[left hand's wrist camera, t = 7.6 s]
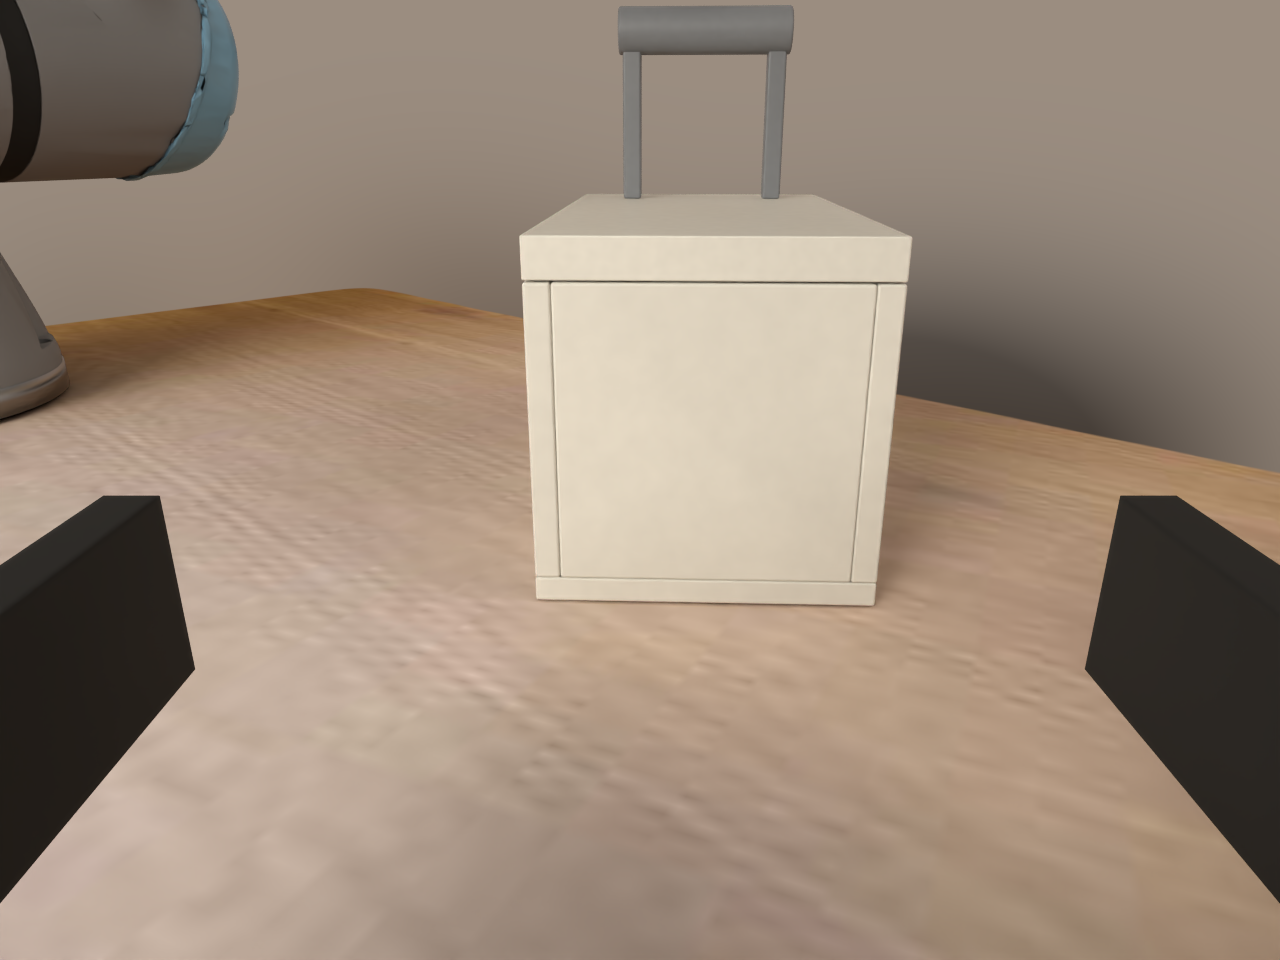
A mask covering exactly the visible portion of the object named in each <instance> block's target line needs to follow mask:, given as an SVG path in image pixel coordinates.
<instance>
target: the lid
mask: <svg viewBox="0 0 1280 960" xmlns="http://www.w3.org/2000/svg"><path fill="white" fill-rule="evenodd" d="M793 29H794V10H793V6H791V5H770V6H621V7H619V10H618V46H619V53H620V55H623V148H624V150H623V151H624V194H586V195H585V196H583V197H581V198H580V199H578V200H576V201H575V202H573V203H572V204H570V205H568V206H567V207H565V208H564V209H562V210H560V211H559V212H557V213H556V214H554V215H552V216H551V217H549V218H548V219H546V220H544V221H543V222H541V223H540V224H538V225H536V226H535V227H533V228H531V229H530V230H528V231H527V232H525V233H523V234H522V235H520V259H521V279H522V280H544V281H729V282H907V281H908V277H909V267H910V257H911V248H912V237H911V236H908V235H906V234H904V233H902V232H899V231H897V230H895V229H892V228H890V227H888V226H885V225H883V224H881V223H878V222H876V221H874V220H871V219H869V218H867V217H864V216H862V215H860V214H857V213H855V212H853V211H851V210H848V209H846V208H844V207H841V206H839V205H837V204H834V203H832V202H830V201H827V200H825V199H823V198H820V197H818V196H816V195H797V194H796V195H795V194H793V195H792V194H787V195H786V194H785V195H783V194H780V175H781V156H782V137H783V117H784V98H785V79H786V59H787V54H790V52H791V48H792V41H793ZM743 54H744V55H745V54H767V71H766V93H765V116H764V139H763V160H762V183H761V194H641V55H743Z"/></svg>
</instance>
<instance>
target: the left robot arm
mask: <svg viewBox="0 0 1280 960" xmlns="http://www.w3.org/2000/svg"><path fill="white" fill-rule="evenodd" d="M194 670H195V666H194V661H193V656H192V652H191V647H190V642H189V637H188V632H187V627H186V622H185V617H184V612H183V608H182V603H181V598H180V593H179V588H178V583H177V578H176V573H175V568H174V564H173V559H172V554H171V549H170V544H169V539H168V534H167V529H166V524H165V520H164V515H163V510H162V505H161V500H160V496H102V497H101V498H99V499H98V500H96V501H95V502H93V503H92V504H91V505H89V506H88V507H86V508H85V509H83V510H82V511H80V512H79V513H77V514H76V515H74V516H73V517H71V518H70V519H68V520H67V521H65V522H64V523H62V524H61V525H59V526H58V527H56V528H55V529H53V530H52V531H50V532H49V533H47V534H46V535H44V536H43V537H41V538H40V539H38V540H37V541H36V542H34V543H33V544H31V545H30V546H28V547H27V548H25V549H24V550H22V551H21V552H19V553H18V554H16V555H15V556H13V557H12V558H10V559H9V560H7V561H6V562H4V563H3V564H1V565H0V903H1V902H2V900H3V899H4V898H5V897H6V896H7V894H8V893H9V892H10V891H11V890H12V888H13V887H14V886H15V885H16V884H17V882H18V881H19V880H20V879H21V878H22V876H23V875H24V874H25V873H26V872H27V870H28V869H29V868H30V867H31V866H32V864H33V863H34V862H35V861H36V860H37V858H38V857H39V856H40V855H41V854H42V852H43V851H44V850H45V849H46V848H47V846H48V845H49V844H50V843H51V842H52V840H53V839H54V838H55V837H56V836H57V834H58V833H59V832H60V831H61V830H62V828H63V827H64V826H65V825H66V824H67V822H68V821H69V820H70V819H71V818H72V816H73V815H74V814H75V813H76V812H77V810H78V809H79V808H80V807H81V806H82V804H83V803H84V802H85V801H86V800H87V798H88V797H89V796H90V795H91V794H92V792H93V791H94V790H95V789H96V788H97V786H98V785H99V784H100V783H101V782H102V780H103V779H104V778H105V777H106V776H107V774H108V773H109V772H110V771H111V770H112V768H113V767H114V766H115V765H116V764H117V762H118V761H119V760H120V759H121V758H122V756H123V755H124V754H125V753H126V752H127V750H128V749H129V748H130V747H131V746H132V744H133V743H134V742H135V741H136V740H137V738H138V737H139V736H140V735H141V734H142V732H143V731H144V730H145V729H146V728H147V726H148V725H149V724H150V723H151V722H152V720H153V719H154V718H155V717H156V716H157V714H158V713H159V712H160V711H161V710H162V708H163V707H164V706H165V705H166V704H167V702H168V701H169V700H170V699H171V698H172V696H173V695H174V694H175V693H176V692H177V690H178V689H179V688H180V687H181V686H182V684H183V683H184V682H185V681H186V680H187V678H188V677H189V676H190V675H191V674H192V672H193V671H194ZM1085 670H1086V671H1087V672H1088V674H1089V675H1090V676H1091V677H1092V678H1093V680H1094V681H1095V682H1096V683H1097V684H1098V686H1099V687H1100V688H1101V689H1102V690H1103V692H1104V693H1105V694H1106V695H1107V696H1108V698H1109V699H1110V700H1111V701H1112V702H1113V704H1114V705H1115V706H1116V707H1117V708H1118V710H1119V711H1120V712H1121V713H1122V714H1123V716H1124V717H1125V718H1126V719H1127V720H1128V722H1129V723H1130V724H1131V725H1132V726H1133V728H1134V729H1135V730H1136V731H1137V732H1138V734H1139V735H1140V736H1141V737H1142V738H1143V740H1144V741H1145V742H1146V743H1147V744H1148V746H1149V747H1150V748H1151V749H1152V750H1153V752H1154V753H1155V754H1156V755H1157V756H1158V758H1159V759H1160V760H1161V761H1162V762H1163V764H1164V765H1165V766H1166V767H1167V768H1168V770H1169V771H1170V772H1171V773H1172V774H1173V776H1174V777H1175V778H1176V779H1177V780H1178V782H1179V783H1180V784H1181V785H1182V786H1183V788H1184V789H1185V790H1186V791H1187V792H1188V794H1189V795H1190V796H1191V797H1192V798H1193V800H1194V801H1195V802H1196V803H1197V804H1198V806H1199V807H1200V808H1201V809H1202V810H1203V812H1204V813H1205V814H1206V815H1207V816H1208V818H1209V819H1210V820H1211V821H1212V822H1213V824H1214V825H1215V826H1216V827H1217V828H1218V830H1219V831H1220V832H1221V833H1222V834H1223V836H1224V837H1225V838H1226V839H1227V840H1228V842H1229V843H1230V844H1231V845H1232V846H1233V848H1234V849H1235V850H1236V851H1237V852H1238V854H1239V855H1240V856H1241V857H1242V858H1243V860H1244V861H1245V862H1246V863H1247V864H1248V866H1249V867H1250V868H1251V869H1252V870H1253V872H1254V873H1255V874H1256V875H1257V876H1258V878H1259V879H1260V880H1261V881H1262V882H1263V884H1264V885H1265V886H1266V887H1267V888H1268V890H1269V891H1270V892H1271V893H1272V894H1273V896H1274V897H1275V898H1276V899H1277V901H1278V902H1279V903H1280V565H1279V564H1277V563H1276V562H1274V561H1273V560H1271V559H1270V558H1268V557H1267V556H1265V555H1264V554H1262V553H1261V552H1259V551H1258V550H1256V549H1255V548H1253V547H1252V546H1250V545H1249V544H1247V543H1246V542H1244V541H1243V540H1242V539H1240V538H1239V537H1237V536H1236V535H1234V534H1233V533H1231V532H1230V531H1228V530H1227V529H1225V528H1224V527H1222V526H1221V525H1219V524H1218V523H1216V522H1215V521H1213V520H1212V519H1210V518H1209V517H1207V516H1206V515H1204V514H1203V513H1201V512H1200V511H1198V510H1197V509H1195V508H1194V507H1192V506H1191V505H1189V504H1188V503H1187V502H1185V501H1184V500H1182V499H1181V498H1179V497H1178V496H1120V500H1119V505H1118V510H1117V515H1116V519H1115V524H1114V529H1113V534H1112V539H1111V544H1110V549H1109V554H1108V559H1107V564H1106V568H1105V573H1104V578H1103V583H1102V588H1101V593H1100V598H1099V603H1098V608H1097V612H1096V617H1095V622H1094V627H1093V632H1092V637H1091V642H1090V647H1089V652H1088V656H1087V661H1086V666H1085Z"/></svg>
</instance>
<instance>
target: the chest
mask: <svg viewBox="0 0 1280 960" xmlns="http://www.w3.org/2000/svg"><path fill="white" fill-rule="evenodd" d="M906 294H907V285H906V284H904V283H903V282H729V281H544V280H526V281H525V282H524V283H523V284H522V295H523V317H524V339H525V360H526V382H527V403H528V425H529V446H530V468H531V489H532V511H533V532H534V554H535V574H536V597H537V599H542V600H595V601H648V602H700V603H753V604H806V605H859V606H873V605H874V604H875V594H876V581H877V575H878V565H879V555H880V546H881V536H882V526H883V517H884V507H885V497H886V488H887V478H888V468H889V459H890V449H891V439H892V430H893V420H894V410H895V401H896V391H897V381H898V371H899V362H900V352H901V342H902V333H903V323H904V313H905V303H906Z"/></svg>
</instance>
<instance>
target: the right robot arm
mask: <svg viewBox="0 0 1280 960" xmlns="http://www.w3.org/2000/svg"><path fill="white" fill-rule="evenodd" d="M238 76H239V71H238V59H237V51H236V45H235V40H234V36H233V33H232V29H231V27H230V23H229V21H228V19H227V16H226V14H225V12H224V10H223V8H222V6H221V5H220V3H219V1H218V0H0V182H26V181H50V180H74V179H98V178H117V179H123V180H126V181H134V180H140V179H142V178H144V177H147V176H151V175H161V174H171V173H179V172H183V171H187V170H190V169H192V168H194V167H196V166H198V165H200V164H201V163H203V162H204V161H205V160H207V159H208V158H209V157H210V156H211V155H212V154H213V153H214V151H215V150H216V149H217V148H218V146H219V145H220V144H221V142H222V140H223V139H224V137H225V134H226V132H227V130H228V124H229V119H230V116H231V115H232V114H233V113H234V110H235V106H236V100H237V93H238V79H239V78H238ZM68 386H69V378H68V373H67V369H66V365H65V360H64V357H63V356H62V355H61V350H60V348H59V346H58V343H57V342H56V340H55V339H54V337H53V336H52V335H51V334H50V333H48V331H47V329H46V327H45V325H44V323H43V321H42V320H41V318H40V316H39V314H38V312H37V311H36V309H35V307H34V306H33V304H32V302H31V301H30V299H29V297H28V296H27V294H26V293H25V291H24V289H23V288H22V286H21V284H20V283H19V281H18V280H17V278H16V277H15V275H14V273H13V272H12V270H11V269H10V267H9V266H8V264H7V262H6V261H5V259H4V258H3V256H2V255H1V253H0V419H1V418H4V417H8V416H11V415H14V414H18V413H21V412H23V411H26V410H29V409H32V408H34V407H37V406H39V405H42V404H44V403H46V402H48V401H50V400H52V399H54V398H56V397H57V396H59V395H61V394H62V393H63V392H64V391H65V390H66V389H67V388H68Z"/></svg>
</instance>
